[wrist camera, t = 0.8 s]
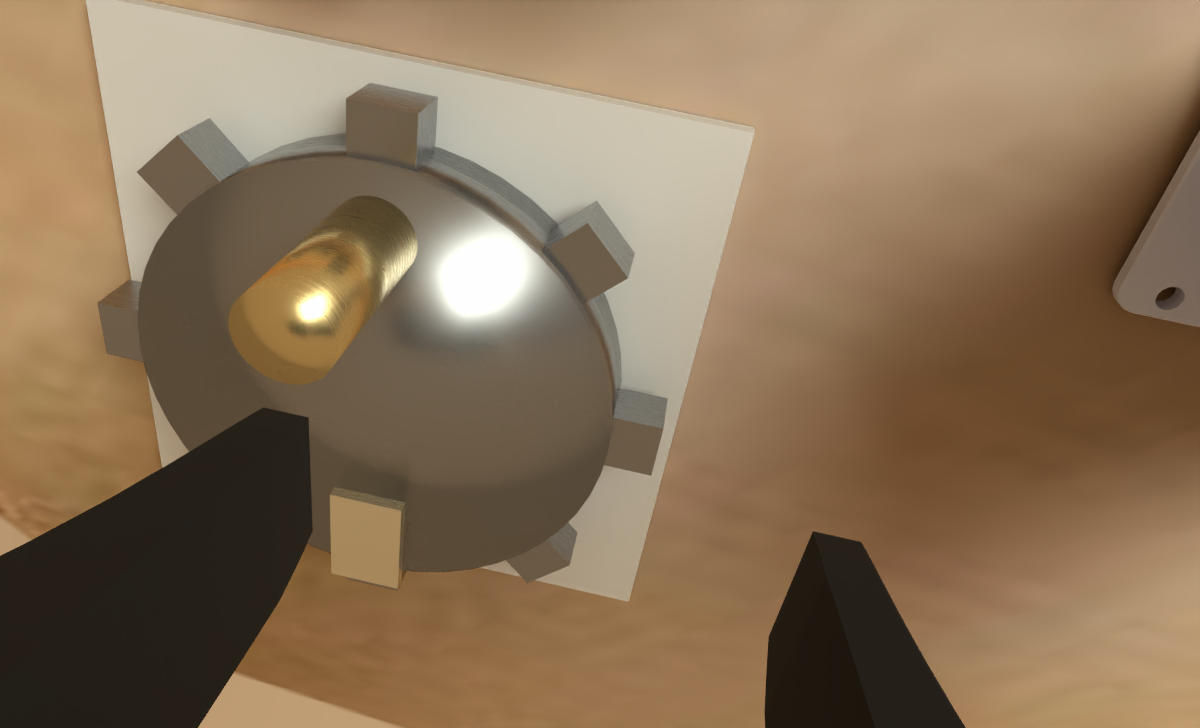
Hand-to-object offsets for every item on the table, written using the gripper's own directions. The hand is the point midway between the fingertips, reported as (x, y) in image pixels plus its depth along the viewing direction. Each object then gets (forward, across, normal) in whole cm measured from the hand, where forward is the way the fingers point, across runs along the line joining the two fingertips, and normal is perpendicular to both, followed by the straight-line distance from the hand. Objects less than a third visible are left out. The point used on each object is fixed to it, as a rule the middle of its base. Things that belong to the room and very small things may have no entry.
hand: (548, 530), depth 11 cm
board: (+9, +5, +4) cm, 11 cm away
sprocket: (+9, +5, +4) cm, 11 cm away
